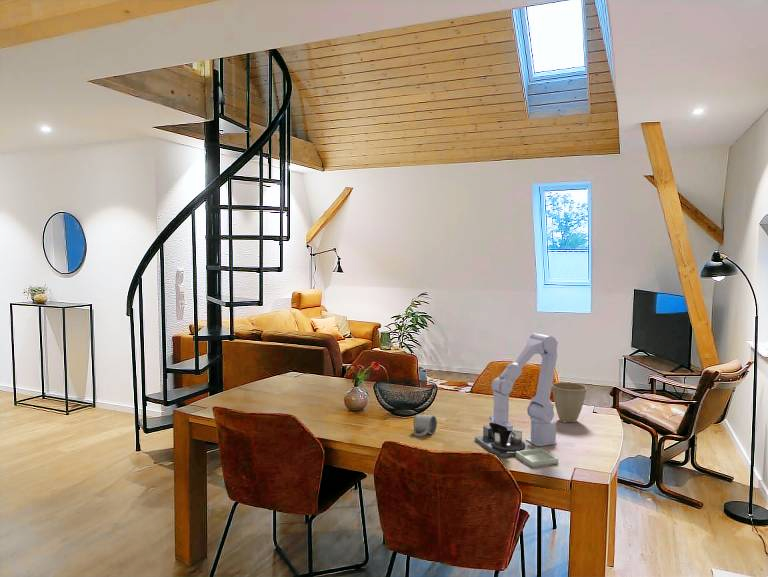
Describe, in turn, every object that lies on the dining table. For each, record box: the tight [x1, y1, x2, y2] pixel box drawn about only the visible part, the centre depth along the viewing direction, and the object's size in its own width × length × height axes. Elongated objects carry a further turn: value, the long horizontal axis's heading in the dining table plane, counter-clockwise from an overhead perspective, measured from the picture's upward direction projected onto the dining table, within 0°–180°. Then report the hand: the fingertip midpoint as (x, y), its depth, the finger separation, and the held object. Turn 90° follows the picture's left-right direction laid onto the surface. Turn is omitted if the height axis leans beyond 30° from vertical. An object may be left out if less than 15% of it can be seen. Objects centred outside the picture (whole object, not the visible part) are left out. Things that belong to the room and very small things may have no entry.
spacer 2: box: [510, 428, 523, 444], centre depth 224 cm, size 4×4×5 cm
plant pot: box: [551, 381, 587, 423], centre depth 259 cm, size 15×15×16 cm
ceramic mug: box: [412, 414, 438, 438], centre depth 241 cm, size 11×8×8 cm
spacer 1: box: [495, 431, 501, 446], centre depth 222 cm, size 4×4×5 cm
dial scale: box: [474, 424, 536, 459], centre depth 226 cm, size 16×20×6 cm
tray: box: [515, 447, 559, 468], centre depth 212 cm, size 11×11×2 cm
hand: (500, 443), depth 222 cm, fingers closed on spacer 1, 4 cm apart
